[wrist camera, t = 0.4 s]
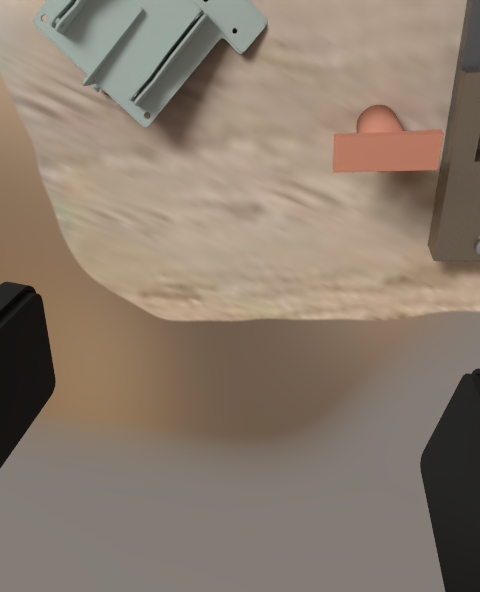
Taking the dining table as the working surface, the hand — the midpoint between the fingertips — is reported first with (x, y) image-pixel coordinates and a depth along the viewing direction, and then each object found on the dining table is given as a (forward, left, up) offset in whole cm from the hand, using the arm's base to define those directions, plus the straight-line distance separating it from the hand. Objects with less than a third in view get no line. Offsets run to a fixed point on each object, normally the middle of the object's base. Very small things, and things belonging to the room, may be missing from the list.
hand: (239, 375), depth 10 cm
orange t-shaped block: (+3, +6, -33) cm, 34 cm away
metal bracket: (-7, -13, -34) cm, 36 cm away
